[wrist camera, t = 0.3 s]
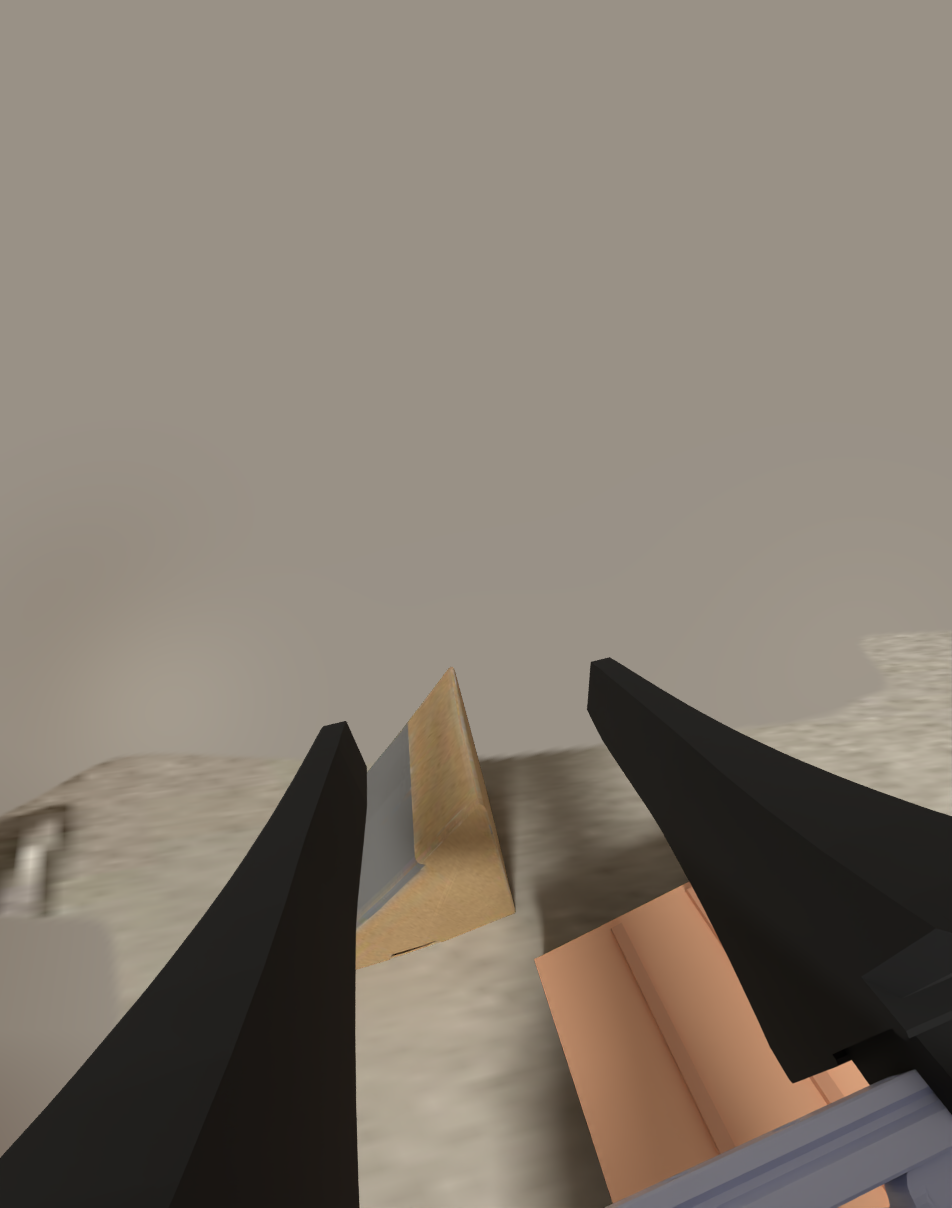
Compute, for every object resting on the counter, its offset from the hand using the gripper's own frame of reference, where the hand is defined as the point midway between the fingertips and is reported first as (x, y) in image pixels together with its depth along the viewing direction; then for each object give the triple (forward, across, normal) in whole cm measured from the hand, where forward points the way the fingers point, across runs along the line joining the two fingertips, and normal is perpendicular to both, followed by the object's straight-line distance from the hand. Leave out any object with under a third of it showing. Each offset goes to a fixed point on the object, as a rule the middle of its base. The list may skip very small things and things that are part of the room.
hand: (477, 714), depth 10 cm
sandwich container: (+6, +7, +21) cm, 23 cm away
